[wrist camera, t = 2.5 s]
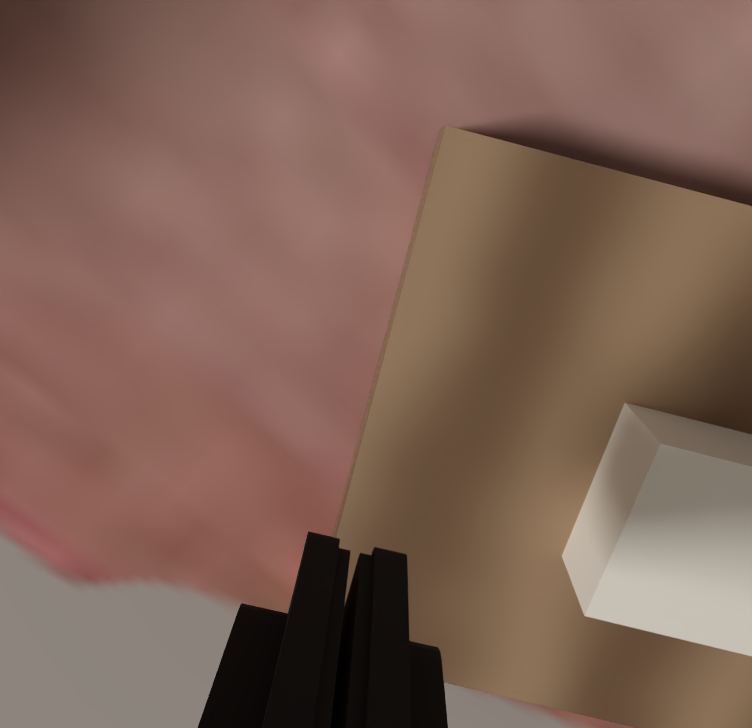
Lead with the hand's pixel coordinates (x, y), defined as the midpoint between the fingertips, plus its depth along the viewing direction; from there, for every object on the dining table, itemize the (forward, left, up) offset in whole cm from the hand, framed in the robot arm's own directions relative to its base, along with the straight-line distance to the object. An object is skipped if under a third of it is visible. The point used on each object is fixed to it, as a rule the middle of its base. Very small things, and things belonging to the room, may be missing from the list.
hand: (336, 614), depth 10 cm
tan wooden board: (-10, 0, -10) cm, 14 cm away
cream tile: (-9, 0, -7) cm, 12 cm away
